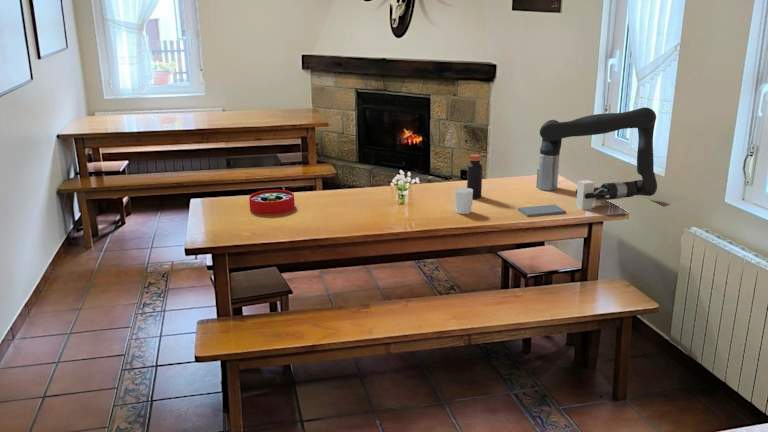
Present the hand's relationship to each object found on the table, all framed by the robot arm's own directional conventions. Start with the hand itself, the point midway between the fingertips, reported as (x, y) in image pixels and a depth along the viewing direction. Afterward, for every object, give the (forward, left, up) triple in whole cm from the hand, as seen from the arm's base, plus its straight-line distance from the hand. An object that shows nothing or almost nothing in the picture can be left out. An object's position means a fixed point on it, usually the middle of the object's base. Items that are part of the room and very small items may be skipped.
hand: (580, 194), depth 304 cm
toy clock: (-87, -107, -7) cm, 138 cm away
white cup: (-28, -44, -7) cm, 53 cm away
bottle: (-42, -24, -7) cm, 49 cm away
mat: (-7, -17, -7) cm, 19 cm away
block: (+1, +2, -7) cm, 7 cm away
